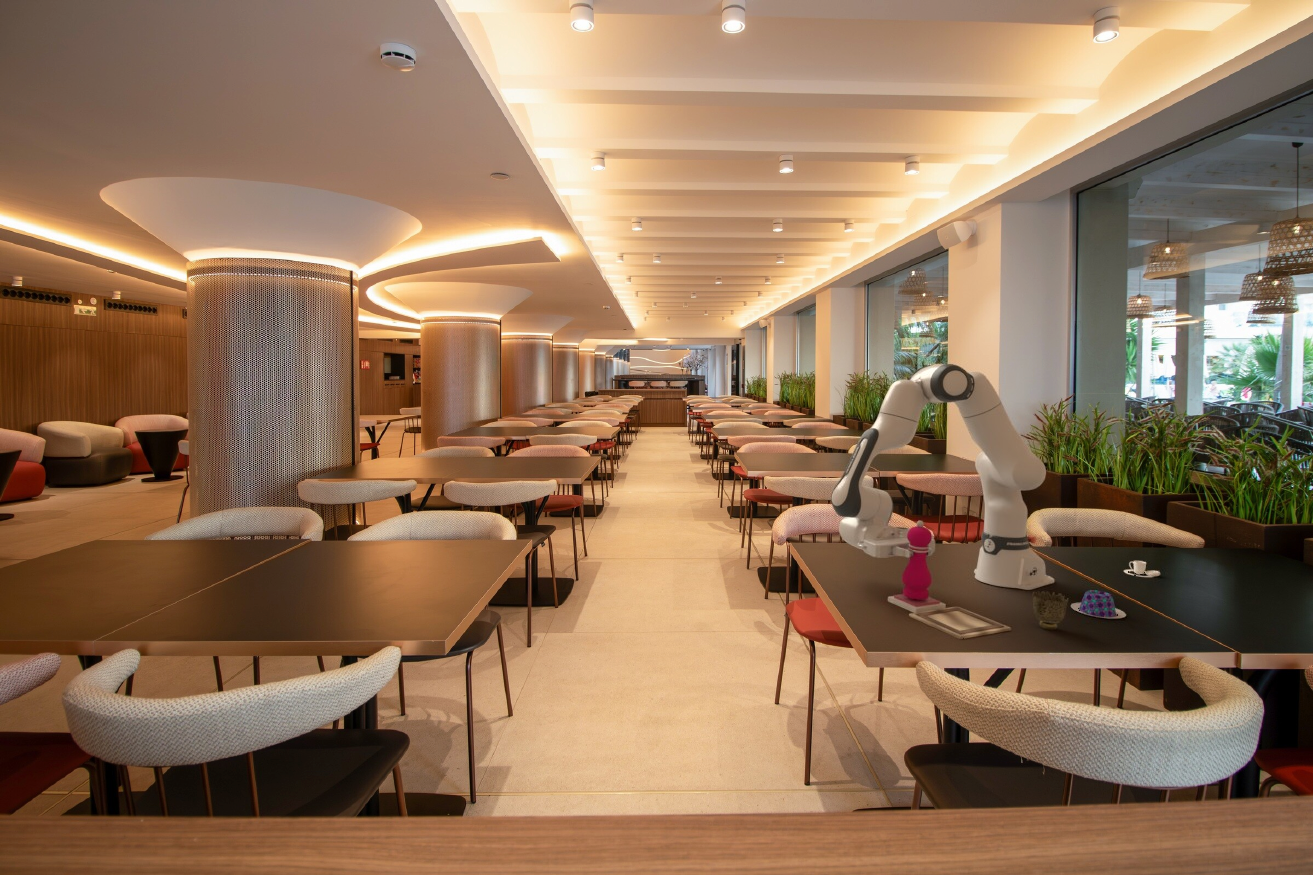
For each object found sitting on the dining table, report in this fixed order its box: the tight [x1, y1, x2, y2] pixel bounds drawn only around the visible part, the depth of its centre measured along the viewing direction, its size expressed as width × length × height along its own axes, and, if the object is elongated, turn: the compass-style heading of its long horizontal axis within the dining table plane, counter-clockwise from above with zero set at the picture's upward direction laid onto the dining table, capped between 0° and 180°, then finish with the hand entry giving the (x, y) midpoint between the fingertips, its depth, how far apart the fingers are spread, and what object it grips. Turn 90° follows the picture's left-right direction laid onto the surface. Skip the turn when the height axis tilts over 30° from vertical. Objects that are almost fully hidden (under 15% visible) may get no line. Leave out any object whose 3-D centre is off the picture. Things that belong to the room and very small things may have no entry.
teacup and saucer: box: [1123, 560, 1161, 578], centre depth 212 cm, size 9×8×4 cm
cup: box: [1031, 590, 1069, 631], centre depth 164 cm, size 8×7×8 cm
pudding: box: [1070, 589, 1127, 619], centre depth 176 cm, size 12×12×5 cm
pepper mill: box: [901, 520, 933, 600], centre depth 178 cm, size 7×7×20 cm
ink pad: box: [887, 593, 947, 613], centre depth 179 cm, size 10×10×2 cm
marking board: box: [908, 605, 1012, 640], centre depth 167 cm, size 16×16×1 cm
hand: (920, 553), depth 177 cm, fingers closed on pepper mill, 5 cm apart
